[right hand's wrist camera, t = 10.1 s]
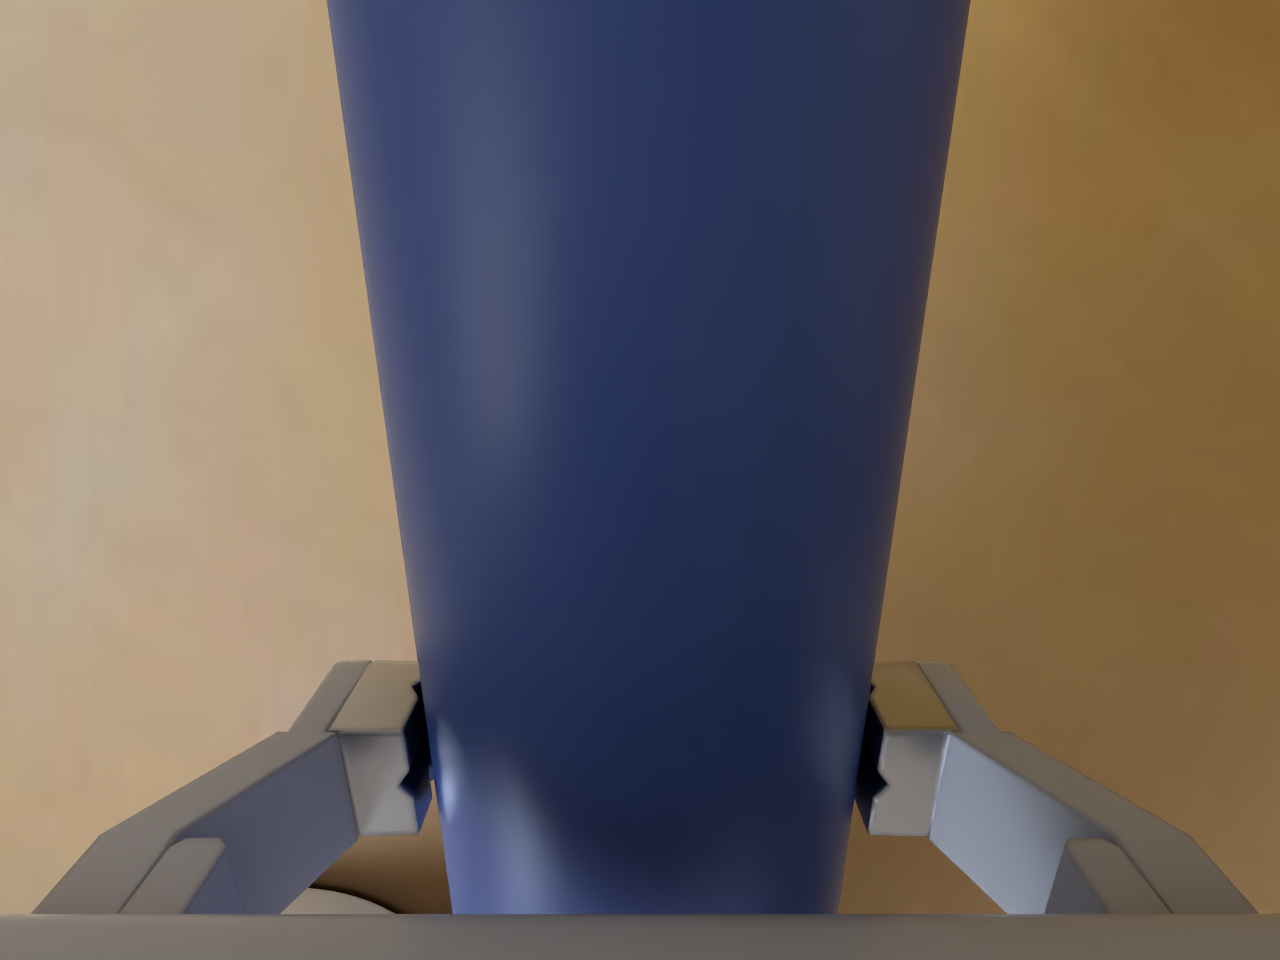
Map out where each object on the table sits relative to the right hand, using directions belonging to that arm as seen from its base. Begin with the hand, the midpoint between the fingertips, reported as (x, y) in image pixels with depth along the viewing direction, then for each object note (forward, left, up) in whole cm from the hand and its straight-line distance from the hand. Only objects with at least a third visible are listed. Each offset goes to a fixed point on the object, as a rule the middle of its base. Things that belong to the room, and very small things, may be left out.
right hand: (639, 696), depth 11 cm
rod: (+4, +7, -3) cm, 9 cm away
